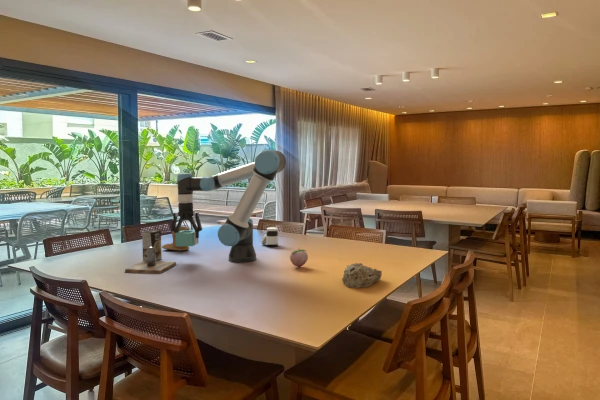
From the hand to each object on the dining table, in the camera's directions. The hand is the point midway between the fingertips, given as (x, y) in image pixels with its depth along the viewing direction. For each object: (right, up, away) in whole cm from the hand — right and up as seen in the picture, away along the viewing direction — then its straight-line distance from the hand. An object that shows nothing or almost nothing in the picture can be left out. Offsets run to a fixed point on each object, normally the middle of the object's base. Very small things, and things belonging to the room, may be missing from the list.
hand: (187, 244), depth 226 cm
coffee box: (-20, -9, +4) cm, 23 cm away
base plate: (-14, -11, -13) cm, 22 cm away
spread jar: (+41, -6, +47) cm, 62 cm away
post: (-14, -11, -13) cm, 22 cm away
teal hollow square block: (0, 0, 0) cm, 0 cm away
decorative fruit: (+60, -11, -11) cm, 61 cm away
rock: (+88, -13, -38) cm, 97 cm away
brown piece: (-14, -7, +33) cm, 37 cm away
